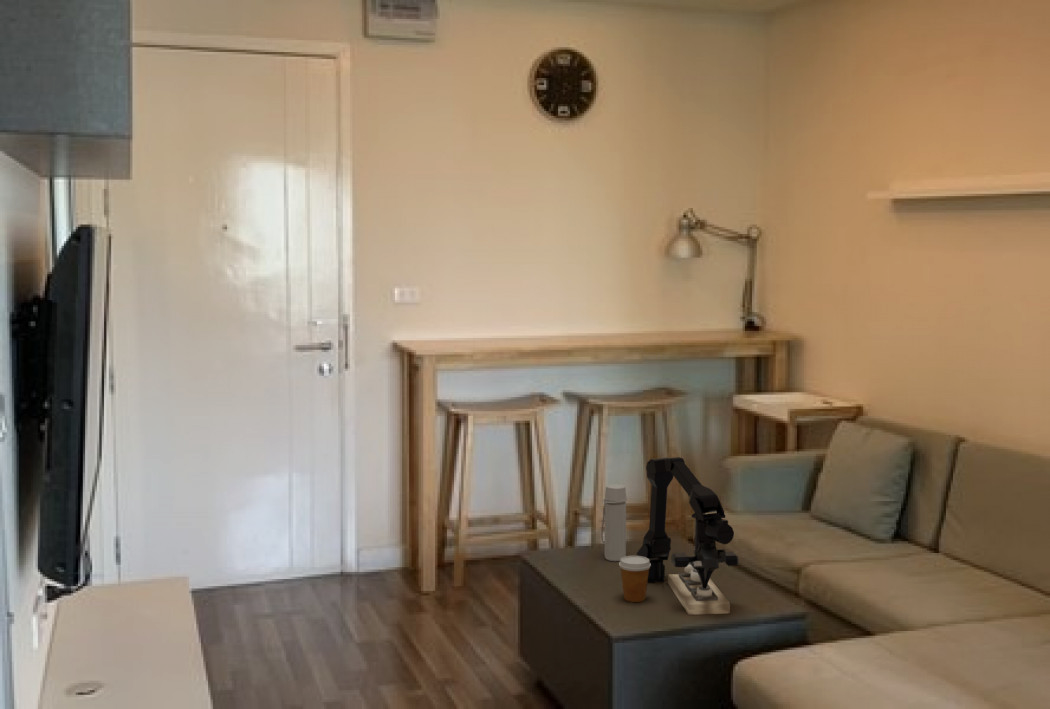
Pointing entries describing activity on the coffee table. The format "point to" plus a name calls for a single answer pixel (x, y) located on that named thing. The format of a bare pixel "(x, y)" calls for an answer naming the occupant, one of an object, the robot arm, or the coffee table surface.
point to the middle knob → (694, 575)
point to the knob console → (690, 601)
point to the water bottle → (614, 522)
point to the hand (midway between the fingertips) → (704, 587)
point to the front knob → (704, 592)
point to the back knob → (688, 568)
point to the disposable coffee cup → (634, 577)
